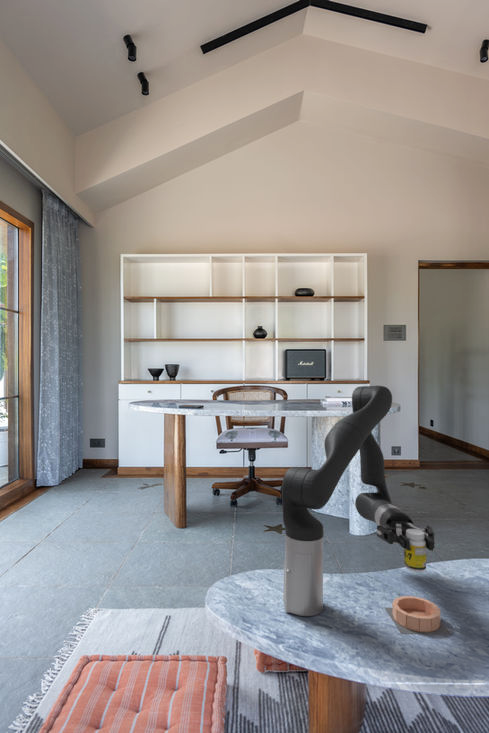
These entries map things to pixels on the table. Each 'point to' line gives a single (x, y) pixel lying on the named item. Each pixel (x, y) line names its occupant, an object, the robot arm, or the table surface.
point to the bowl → (416, 614)
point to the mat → (406, 631)
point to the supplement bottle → (415, 551)
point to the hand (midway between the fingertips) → (420, 545)
